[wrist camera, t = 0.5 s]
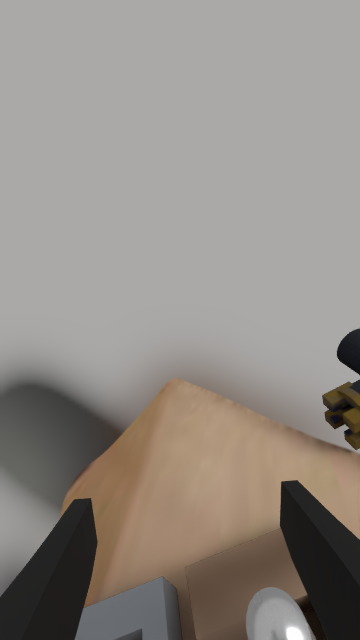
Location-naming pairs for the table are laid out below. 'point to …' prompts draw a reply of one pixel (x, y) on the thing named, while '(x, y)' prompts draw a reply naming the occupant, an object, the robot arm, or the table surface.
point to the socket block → (240, 585)
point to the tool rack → (134, 615)
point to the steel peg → (276, 617)
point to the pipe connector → (346, 392)
